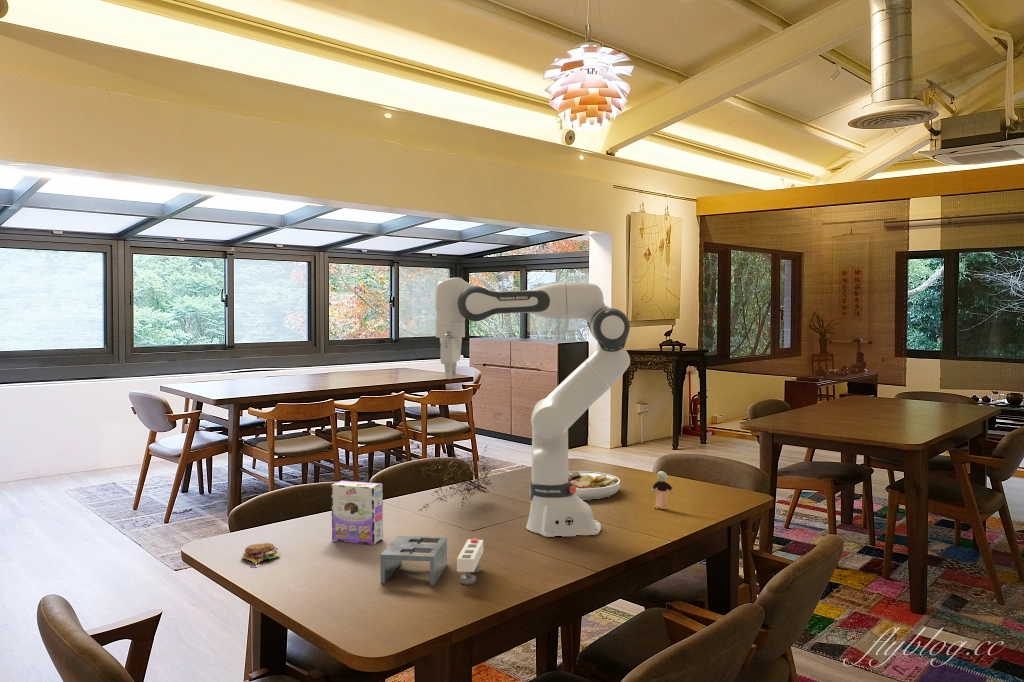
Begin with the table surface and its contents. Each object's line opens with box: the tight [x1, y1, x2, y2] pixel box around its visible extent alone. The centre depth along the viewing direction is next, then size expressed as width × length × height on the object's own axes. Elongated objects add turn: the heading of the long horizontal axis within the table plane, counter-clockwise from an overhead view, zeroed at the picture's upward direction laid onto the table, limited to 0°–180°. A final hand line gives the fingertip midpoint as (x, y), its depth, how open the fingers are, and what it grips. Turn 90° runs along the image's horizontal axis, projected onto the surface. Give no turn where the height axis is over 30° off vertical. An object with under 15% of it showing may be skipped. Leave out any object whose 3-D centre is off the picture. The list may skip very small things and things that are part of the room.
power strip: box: [456, 537, 484, 586], centre depth 174 cm, size 4×15×7 cm, turn 174°
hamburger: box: [241, 542, 281, 567], centre depth 186 cm, size 14×14×6 cm
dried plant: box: [398, 426, 495, 513], centre depth 229 cm, size 30×31×45 cm
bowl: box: [568, 470, 621, 499], centre depth 260 cm, size 30×30×8 cm
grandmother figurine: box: [650, 470, 675, 509], centre depth 236 cm, size 8×4×13 cm, turn 68°
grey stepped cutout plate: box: [380, 535, 448, 587], centre depth 176 cm, size 13×15×7 cm
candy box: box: [330, 480, 384, 546], centre depth 202 cm, size 14×6×16 cm, turn 71°
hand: (450, 377), depth 213 cm, fingers open, 8 cm apart
